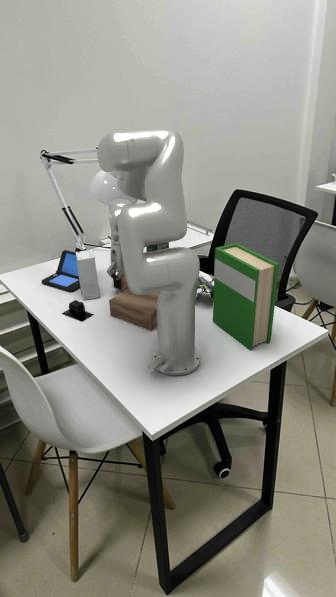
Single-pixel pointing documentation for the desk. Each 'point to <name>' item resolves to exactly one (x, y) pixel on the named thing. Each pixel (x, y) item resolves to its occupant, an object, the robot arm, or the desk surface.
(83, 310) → the build plate
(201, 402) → the desk surface
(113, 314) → the walnut block
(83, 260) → the skincare box
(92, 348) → the desk surface
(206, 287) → the passion flower
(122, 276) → the beige rounded cylinder
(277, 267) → the hardback book
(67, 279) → the game console
